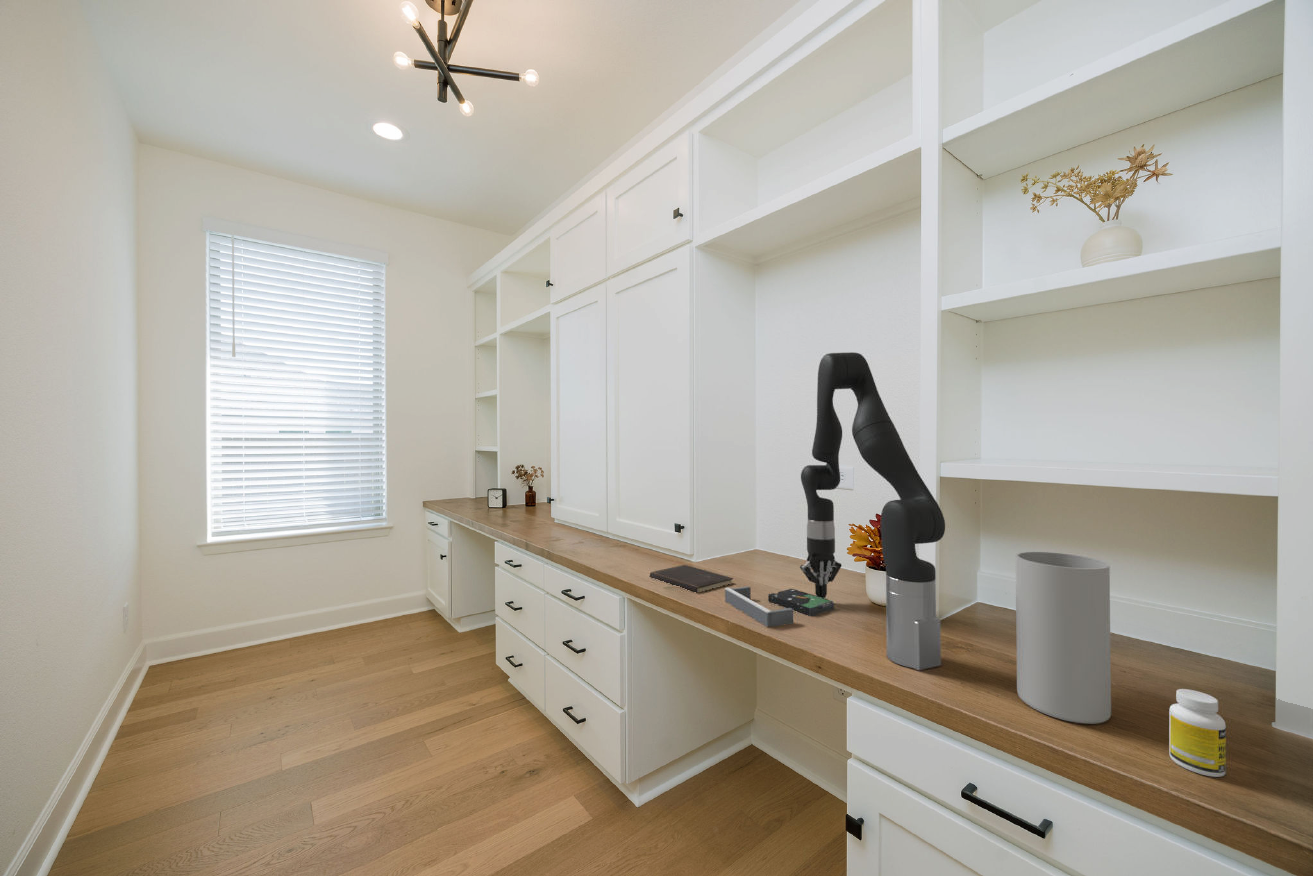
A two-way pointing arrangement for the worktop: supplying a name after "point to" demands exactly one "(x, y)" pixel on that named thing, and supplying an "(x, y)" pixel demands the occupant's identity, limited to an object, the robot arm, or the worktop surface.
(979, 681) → the worktop surface
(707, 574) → the hardcover book
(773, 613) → the dock
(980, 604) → the worktop surface
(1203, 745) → the supplement bottle
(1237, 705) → the worktop surface
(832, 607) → the disk drive
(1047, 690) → the cylinder vase
